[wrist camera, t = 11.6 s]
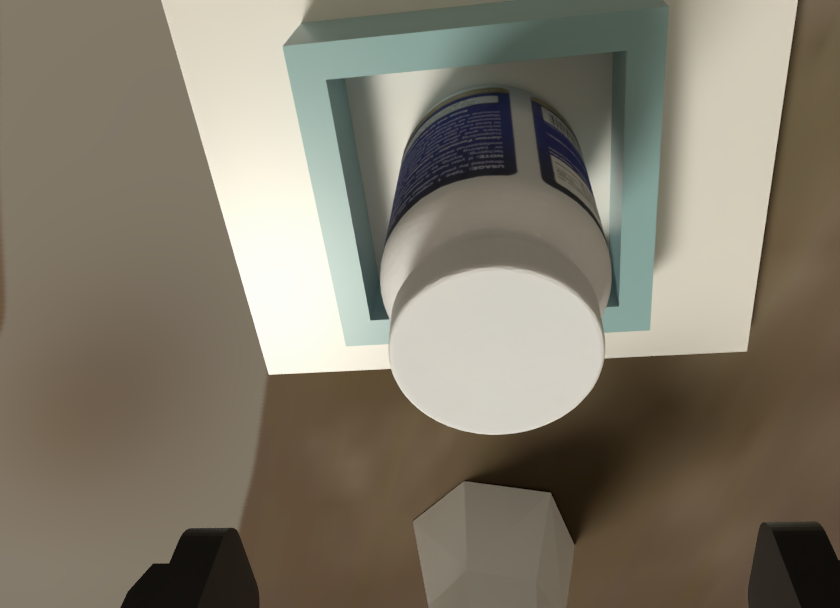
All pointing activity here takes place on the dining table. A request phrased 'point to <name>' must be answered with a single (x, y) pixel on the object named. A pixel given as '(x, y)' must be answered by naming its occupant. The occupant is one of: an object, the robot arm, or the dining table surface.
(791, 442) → the dining table surface
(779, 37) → the socket holder
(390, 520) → the dining table surface
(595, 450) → the dining table surface
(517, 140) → the pill bottle
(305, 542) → the dining table surface
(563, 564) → the figurine
